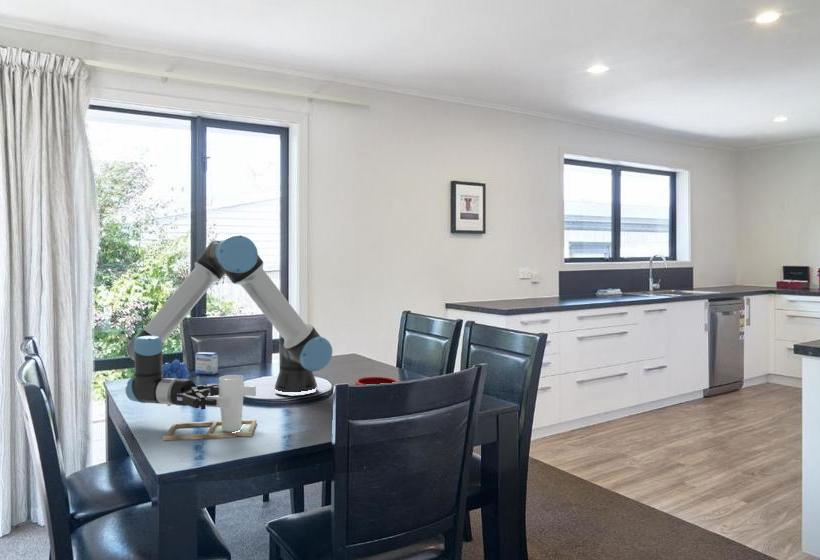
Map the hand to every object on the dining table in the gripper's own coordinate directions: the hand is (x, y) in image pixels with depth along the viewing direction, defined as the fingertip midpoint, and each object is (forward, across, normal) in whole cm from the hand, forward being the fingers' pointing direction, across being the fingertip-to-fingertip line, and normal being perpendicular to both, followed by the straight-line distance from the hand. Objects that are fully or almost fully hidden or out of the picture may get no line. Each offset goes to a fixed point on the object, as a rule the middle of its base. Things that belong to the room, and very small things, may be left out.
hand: (242, 396), depth 160 cm
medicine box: (-58, -67, -10) cm, 89 cm away
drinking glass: (-3, 0, -10) cm, 10 cm away
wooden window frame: (-8, +2, -10) cm, 13 cm away
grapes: (-49, -34, -10) cm, 61 cm away
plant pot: (+33, -21, -10) cm, 40 cm away
